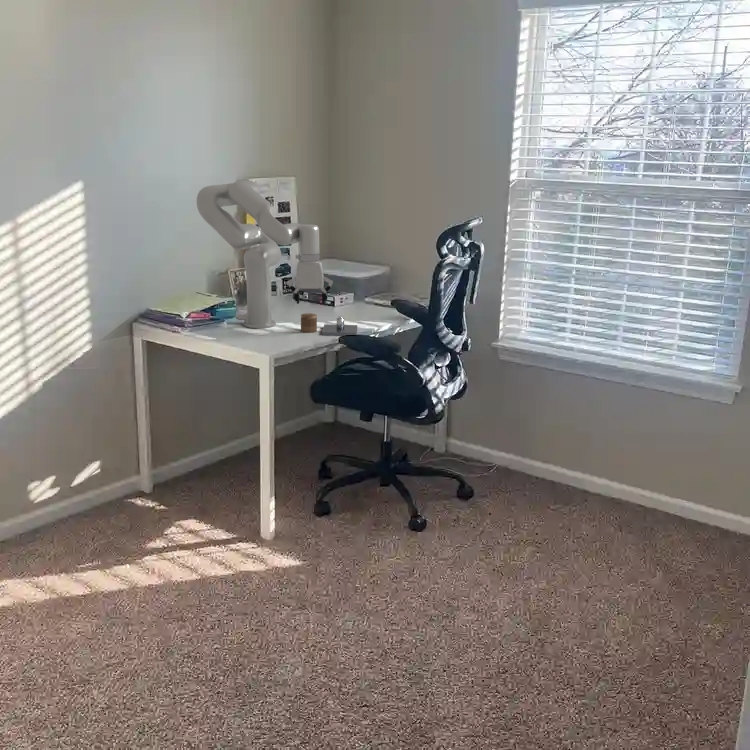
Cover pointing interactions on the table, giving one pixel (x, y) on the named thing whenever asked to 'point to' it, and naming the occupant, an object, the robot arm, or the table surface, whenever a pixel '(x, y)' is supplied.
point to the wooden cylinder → (308, 322)
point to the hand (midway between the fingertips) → (310, 303)
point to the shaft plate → (337, 331)
